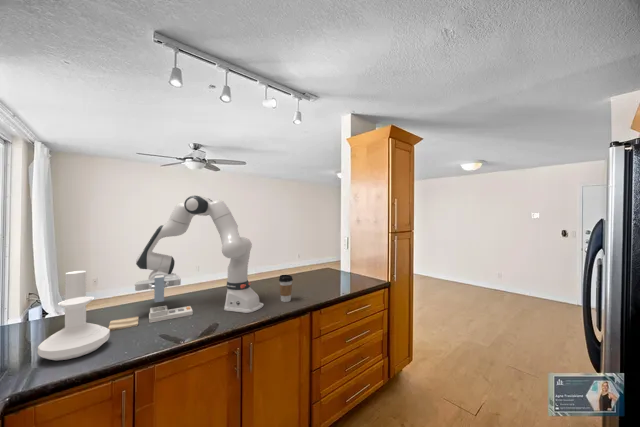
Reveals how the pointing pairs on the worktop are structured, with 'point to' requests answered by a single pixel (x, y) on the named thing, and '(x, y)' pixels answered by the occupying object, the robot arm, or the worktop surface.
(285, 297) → the coffee cup
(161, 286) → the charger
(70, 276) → the cylindrical container
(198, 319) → the worktop surface
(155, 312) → the power strip
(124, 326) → the oak pad
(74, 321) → the candle holder
